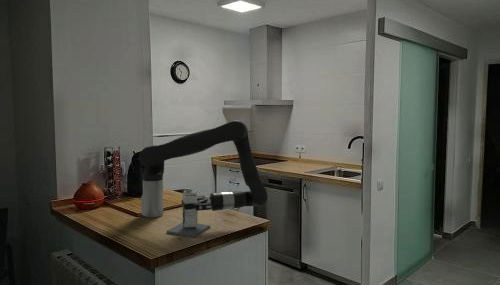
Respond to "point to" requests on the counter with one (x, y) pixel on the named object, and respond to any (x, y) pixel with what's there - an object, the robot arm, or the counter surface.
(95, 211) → the counter surface
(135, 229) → the counter surface
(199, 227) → the trivet mat
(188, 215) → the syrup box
